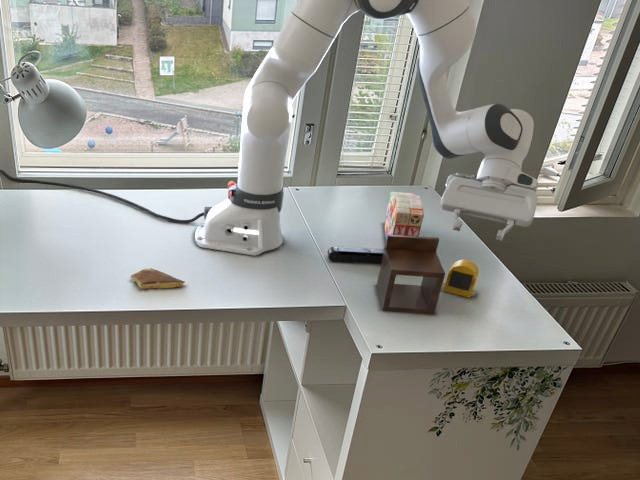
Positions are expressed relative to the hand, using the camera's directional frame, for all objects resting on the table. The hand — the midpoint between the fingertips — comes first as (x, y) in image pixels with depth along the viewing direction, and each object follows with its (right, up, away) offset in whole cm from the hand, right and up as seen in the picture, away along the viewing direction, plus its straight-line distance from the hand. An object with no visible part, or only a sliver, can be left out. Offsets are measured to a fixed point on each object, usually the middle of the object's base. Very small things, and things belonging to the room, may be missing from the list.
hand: (477, 234), depth 158 cm
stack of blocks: (-11, +2, +22) cm, 25 cm away
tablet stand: (-23, -5, +12) cm, 26 cm away
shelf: (-18, -15, -3) cm, 24 cm away
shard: (-73, -11, +2) cm, 74 cm away
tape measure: (-4, -13, 0) cm, 14 cm away
